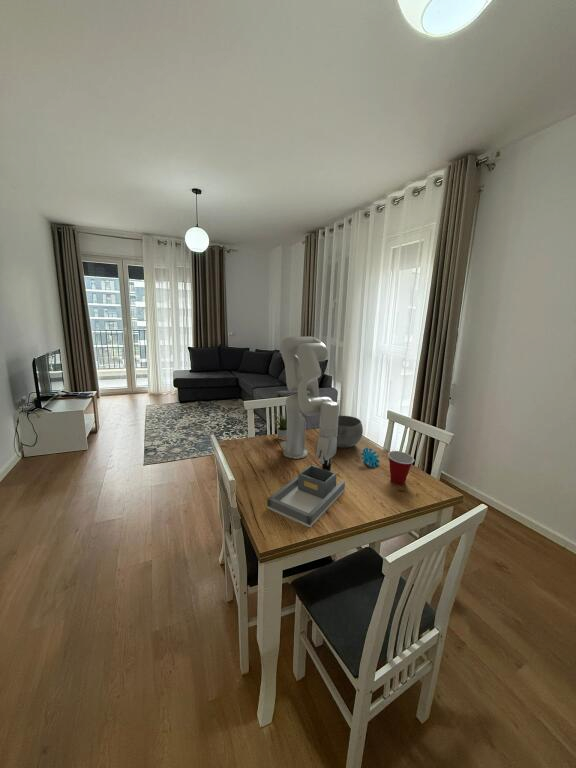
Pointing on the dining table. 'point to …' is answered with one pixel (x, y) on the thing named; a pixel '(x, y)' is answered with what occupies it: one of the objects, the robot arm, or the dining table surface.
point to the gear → (370, 457)
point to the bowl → (348, 431)
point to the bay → (302, 503)
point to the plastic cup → (399, 466)
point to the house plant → (282, 426)
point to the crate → (317, 481)
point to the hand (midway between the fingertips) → (326, 472)
